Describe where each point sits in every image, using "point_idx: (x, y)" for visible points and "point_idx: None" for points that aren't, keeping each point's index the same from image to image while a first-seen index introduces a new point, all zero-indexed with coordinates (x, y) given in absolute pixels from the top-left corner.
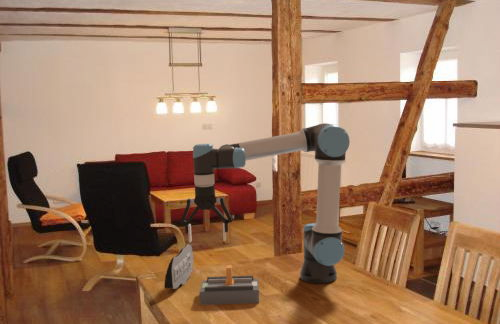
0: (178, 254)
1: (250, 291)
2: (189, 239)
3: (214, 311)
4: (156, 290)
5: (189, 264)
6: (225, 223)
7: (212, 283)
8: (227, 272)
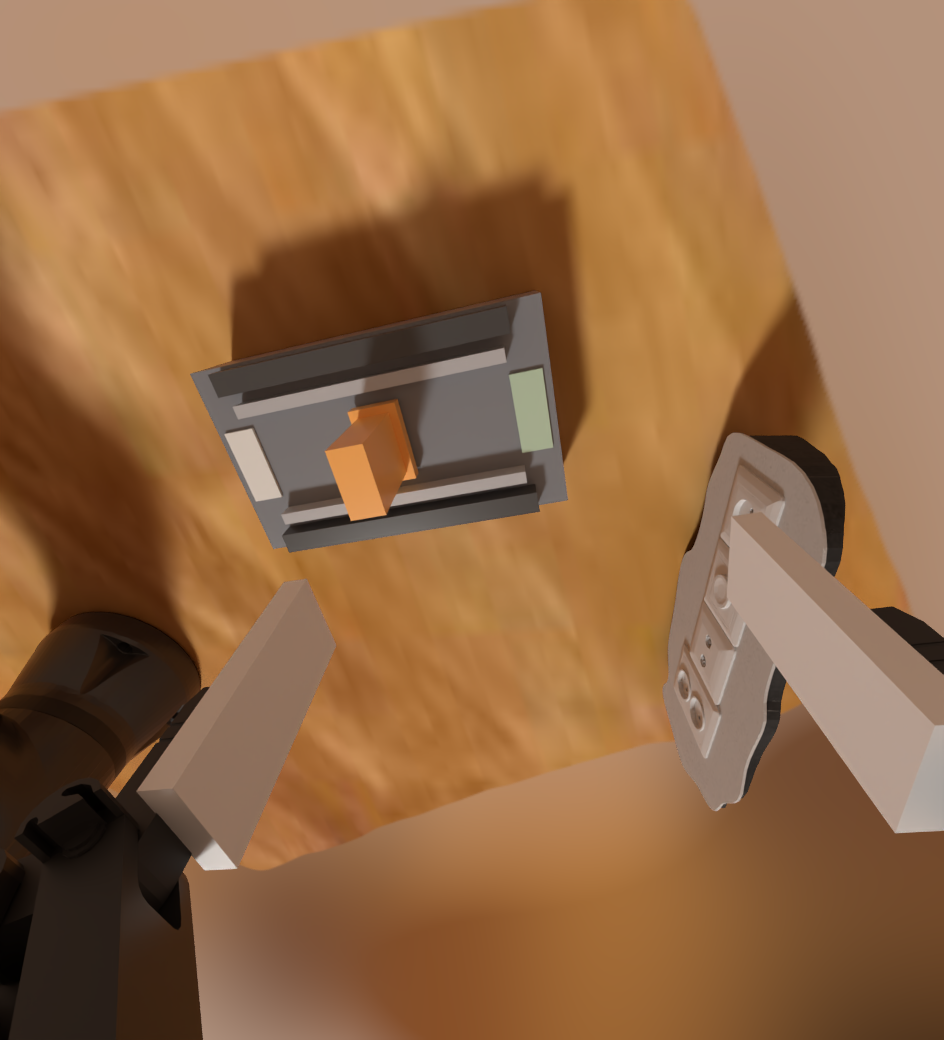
0: None
1: (236, 362)
2: (773, 535)
3: (421, 190)
4: None
5: (685, 690)
6: (74, 801)
7: (496, 456)
8: (362, 435)
